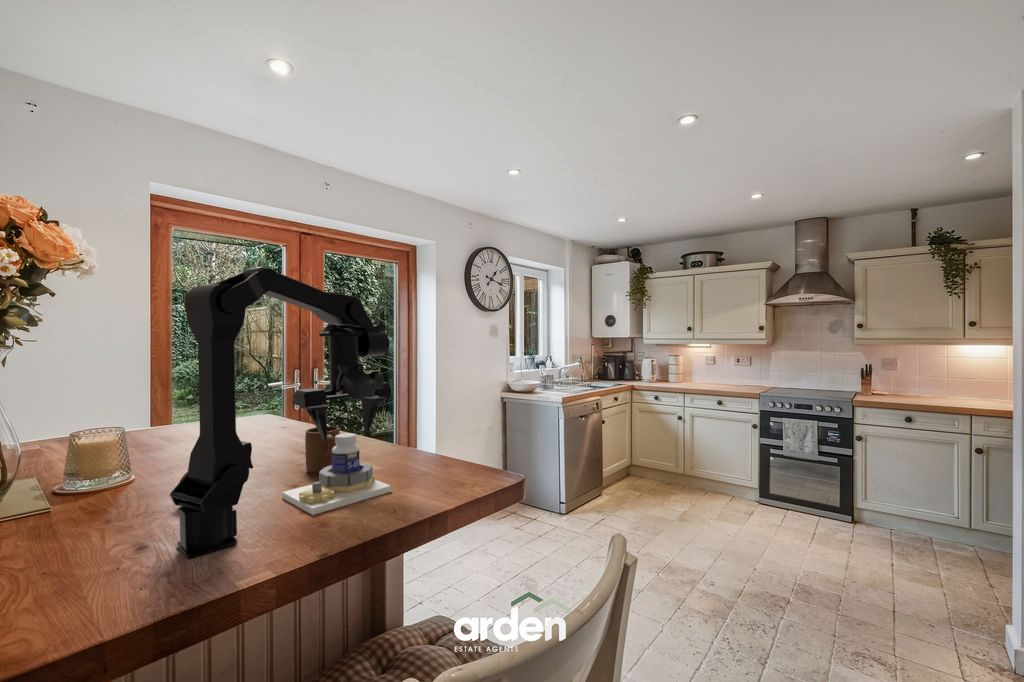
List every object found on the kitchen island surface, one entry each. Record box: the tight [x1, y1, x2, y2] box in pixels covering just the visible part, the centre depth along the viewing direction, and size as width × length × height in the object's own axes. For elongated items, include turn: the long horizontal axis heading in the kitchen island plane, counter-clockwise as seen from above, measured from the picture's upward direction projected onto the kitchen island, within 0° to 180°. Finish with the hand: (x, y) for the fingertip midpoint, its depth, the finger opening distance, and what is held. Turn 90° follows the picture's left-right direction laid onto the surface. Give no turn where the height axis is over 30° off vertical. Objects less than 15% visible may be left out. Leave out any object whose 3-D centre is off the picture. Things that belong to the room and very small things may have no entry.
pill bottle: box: [332, 432, 360, 474], centre depth 96 cm, size 5×5×9 cm
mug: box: [304, 426, 341, 474], centre depth 110 cm, size 12×8×9 cm, turn 35°
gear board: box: [281, 461, 392, 516], centre depth 94 cm, size 16×13×4 cm
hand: (346, 435), depth 97 cm, fingers open, 9 cm apart
